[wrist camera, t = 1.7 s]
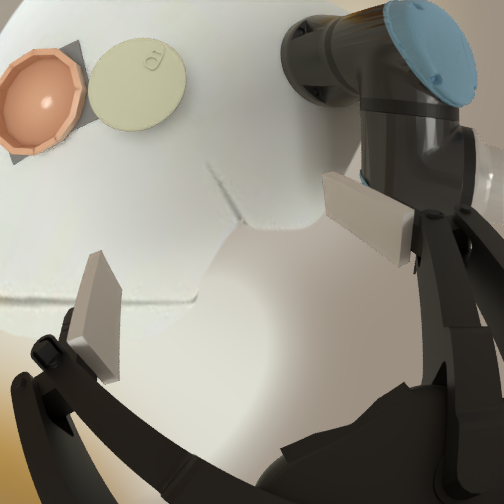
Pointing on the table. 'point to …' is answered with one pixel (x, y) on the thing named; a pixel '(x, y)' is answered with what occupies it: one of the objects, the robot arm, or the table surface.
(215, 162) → the table surface
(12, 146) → the bowl
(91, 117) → the mat
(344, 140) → the table surface
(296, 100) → the table surface
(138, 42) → the can
